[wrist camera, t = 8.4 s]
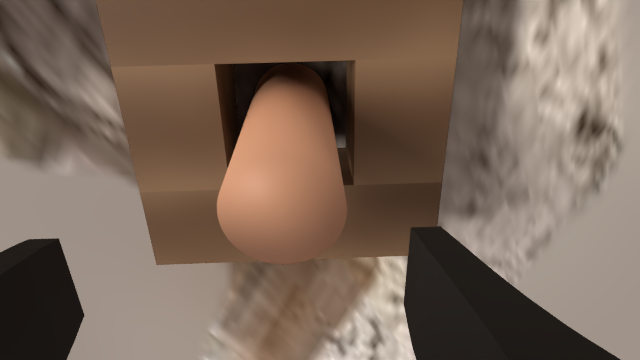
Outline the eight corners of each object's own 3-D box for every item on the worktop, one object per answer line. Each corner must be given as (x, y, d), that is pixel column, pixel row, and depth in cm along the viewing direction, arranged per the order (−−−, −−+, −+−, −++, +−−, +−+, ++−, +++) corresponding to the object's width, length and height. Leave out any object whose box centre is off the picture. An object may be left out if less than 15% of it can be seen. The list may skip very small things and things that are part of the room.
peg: (326, 134, 19) (344, 264, 11) (256, 133, 19) (222, 264, 11) (329, 63, 18) (350, 152, 10) (253, 62, 18) (211, 152, 10)
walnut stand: (414, 209, 21) (433, 254, 18) (178, 218, 21) (156, 264, 18) (437, -55, 16) (470, -58, 13) (127, -48, 16) (84, -49, 13)
